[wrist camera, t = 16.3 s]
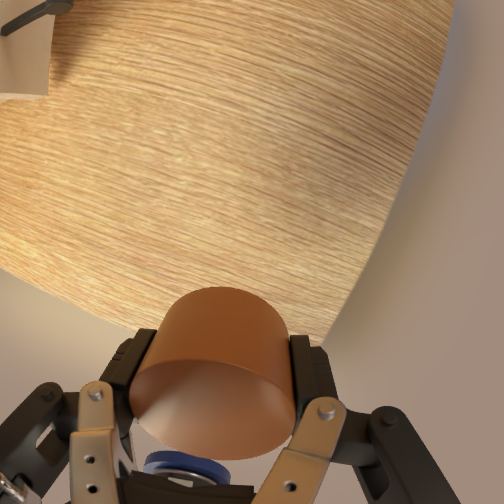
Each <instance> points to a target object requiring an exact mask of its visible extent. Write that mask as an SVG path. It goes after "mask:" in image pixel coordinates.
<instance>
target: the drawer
mask: <svg viewBox="0 0 504 504" xmlns="http://www.w3.org/2000/svg"><path fill="white" fill-rule="evenodd" d="M73 3H74V0H0V104H1V103H3V102H5V101H7V100H9V99H21V100H38V99H41V98H43V97H46V96H48V88H49V67H50V54H51V44H52V36H53V28H54V21H55V15H60V14H64V13H66V12H68V11H70V10H71V9H72V8H73Z"/></svg>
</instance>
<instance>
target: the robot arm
mask: <svg viewBox="0 0 504 504" xmlns="http://www.w3.org/2000/svg"><path fill="white" fill-rule="evenodd" d="M156 333H157V330H155V329H144V328H140V329H139V330H138V332H137V333H136V335H135V337H134V338H133V339H131V338H129V339H127V340H126V341H124V342H123V343H122V344H121V345H120V346H119V348H118V349H117V351H116V354H114V356H113V358H112V360H111V361H110V362H109V364H108V366H107V367H106V369H105V371H104V372H103V374H102V376H101V377H100V379H99V381H93V382H90V383H88V384H86V385H85V386H83V388H82V389H81V390H80V392H63V390H62V389H61V387H60V386H59V385H58V384H57V383H54V382H47V383H43V384H42V385H40V386H38V387H37V388H36V389H35V390H34V391H33V392H32V393H31V394H30V395H29V396H28V397H27V398H26V399H25V400H24V401H23V402H22V403H21V404H20V405H19V406H18V407H17V408H16V409H15V410H14V411H13V412H12V414H11V415H10V416H9V417H8V418H7V419H6V420H5V421H4V422H3V423H2V424H1V425H0V504H42V501H41V499H42V498H43V497H44V495H45V494H46V493H47V491H48V490H49V488H50V487H51V486H52V484H53V483H54V481H55V480H56V479H57V477H58V476H59V474H60V473H61V472H62V471H63V469H64V468H65V466H66V465H67V464H68V462H69V464H70V497H71V501H69V502H67V503H65V504H313V502H314V500H315V498H316V495H317V493H318V491H319V489H320V486H321V484H322V481H323V479H324V476H325V474H326V471H327V469H328V466H329V464H330V462H335V463H341V464H347V465H352V467H353V469H354V471H355V474H356V476H357V478H358V481H359V483H360V485H361V487H362V490H363V492H364V494H365V497H366V499H367V501H368V504H461V503H460V501H459V500H458V498H457V496H456V495H455V493H454V491H453V490H452V488H451V487H450V485H449V483H448V482H447V480H446V478H445V477H444V475H443V474H442V472H441V470H440V469H439V467H438V465H437V464H436V462H435V460H434V459H433V457H432V456H431V454H430V452H429V451H428V450H427V448H426V446H425V445H424V443H423V442H422V440H421V438H420V437H419V435H418V434H417V432H416V431H415V429H414V428H413V426H412V424H411V423H410V421H409V420H408V418H407V417H406V415H405V414H404V413H403V412H402V411H401V410H400V409H398V408H395V407H391V406H382V407H379V408H377V409H376V410H374V411H373V412H372V413H371V414H365V413H358V412H354V411H351V410H349V409H347V408H346V407H345V405H344V404H343V403H342V402H341V401H339V399H338V395H337V391H336V387H335V383H334V379H333V375H332V372H331V367H330V365H329V359H328V355H327V354H326V352H325V351H324V350H323V349H322V348H321V347H320V346H317V347H310V342H309V337H308V335H290V341H289V344H290V354H291V363H292V373H293V383H294V394H295V404H296V413H297V418H296V425H295V428H294V430H293V432H292V439H291V440H290V442H289V444H288V446H287V447H284V448H283V450H282V451H281V453H280V454H279V456H278V458H277V460H276V462H275V464H274V465H273V467H272V469H271V471H270V472H269V474H268V476H267V478H266V479H265V481H264V483H263V484H262V486H261V488H260V489H259V491H258V493H254V486H245V485H228V484H219V483H218V482H217V481H216V480H215V479H213V478H212V477H210V476H208V475H205V474H203V473H200V472H197V471H193V470H189V469H184V468H178V467H159V468H156V469H154V470H153V471H152V474H148V473H144V472H139V471H138V469H137V465H136V459H135V453H134V447H133V441H132V434H131V430H130V427H131V424H132V423H137V424H140V423H139V422H138V420H137V419H136V417H135V416H134V414H133V412H132V410H131V406H130V403H129V389H130V386H131V383H132V381H133V379H134V377H135V375H136V373H137V371H138V369H139V367H140V365H141V363H142V361H143V359H144V357H145V355H146V353H147V351H148V349H149V347H150V345H151V343H152V341H153V339H154V337H155V335H156ZM49 425H50V426H51V428H52V430H51V431H50V433H49V434H48V435H47V436H46V438H45V439H44V440H43V441H42V442H41V444H40V445H39V446H38V447H37V448H36V441H37V439H38V438H39V437H40V435H41V434H42V433H43V432H44V431H45V430H46V428H47V427H48V426H49Z"/></svg>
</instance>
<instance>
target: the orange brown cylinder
mask: <svg viewBox="0 0 504 504" xmlns="http://www.w3.org/2000/svg"><path fill="white" fill-rule="evenodd" d="M129 403H130V406H131V410H132V412H133V414H134V416H135V417H136V419H137V420H138V422H139V423H140V424H141V425H142V427H143V428H144V429H145V430H146V431H148V432H149V433H150V434H151V435H152V436H153V437H155V438H156V439H158V440H159V441H161V442H162V443H164V444H166V445H168V446H169V447H172V448H174V449H176V450H178V451H180V452H183V453H186V454H189V455H193V456H196V457H201V458H206V459H213V460H241V459H248V458H253V457H257V456H260V455H263V454H265V453H268V452H270V451H272V450H274V449H276V448H277V447H279V446H280V445H282V444H283V443H284V442H285V441H286V440H287V439H288V438H289V436H290V435H291V434H292V432H293V430H294V428H295V425H296V418H297V413H296V404H295V394H294V383H293V373H292V363H291V354H290V344H289V336H288V331H287V328H286V325H285V323H284V321H283V319H282V318H281V316H280V315H279V314H278V312H277V311H276V310H275V309H274V308H273V307H272V306H271V305H269V304H268V303H267V302H266V301H264V300H263V299H261V298H259V297H258V296H256V295H254V294H251V293H249V292H246V291H243V290H240V289H235V288H230V287H209V288H203V289H199V290H196V291H193V292H191V293H188V294H186V295H185V296H183V297H181V298H180V299H179V300H177V301H176V302H175V303H174V304H173V305H172V306H171V308H170V309H169V310H168V312H167V314H166V316H165V317H164V319H163V321H162V323H161V325H160V327H159V329H158V331H157V333H156V335H155V337H154V339H153V341H152V343H151V345H150V347H149V349H148V351H147V353H146V355H145V357H144V359H143V361H142V363H141V365H140V367H139V369H138V371H137V373H136V375H135V377H134V379H133V381H132V383H131V386H130V389H129Z"/></svg>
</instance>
